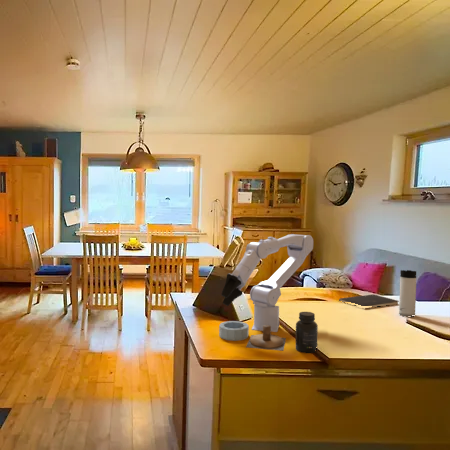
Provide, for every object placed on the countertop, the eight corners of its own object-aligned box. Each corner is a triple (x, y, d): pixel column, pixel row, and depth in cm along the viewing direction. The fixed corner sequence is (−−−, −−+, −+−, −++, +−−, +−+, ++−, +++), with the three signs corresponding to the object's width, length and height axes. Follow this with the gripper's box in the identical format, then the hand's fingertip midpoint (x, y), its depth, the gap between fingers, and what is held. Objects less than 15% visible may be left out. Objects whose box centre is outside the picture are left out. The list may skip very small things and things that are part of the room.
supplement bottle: (292, 346, 123) (293, 310, 122) (313, 346, 123) (314, 310, 123) (298, 354, 116) (299, 316, 115) (320, 354, 116) (321, 316, 116)
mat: (285, 339, 130) (285, 338, 130) (283, 351, 118) (283, 350, 118) (251, 336, 132) (251, 335, 132) (245, 348, 121) (245, 347, 121)
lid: (284, 338, 129) (284, 322, 129) (281, 349, 119) (282, 332, 118) (252, 335, 132) (253, 320, 132) (247, 346, 121) (247, 329, 121)
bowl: (250, 333, 136) (250, 322, 135) (245, 342, 126) (245, 330, 126) (223, 330, 138) (223, 320, 138) (216, 340, 128) (216, 328, 128)
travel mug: (399, 316, 160) (400, 269, 159) (398, 312, 166) (400, 267, 165) (415, 318, 158) (417, 271, 157) (414, 314, 164) (415, 268, 163)
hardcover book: (398, 305, 181) (399, 300, 181) (363, 310, 171) (363, 305, 171) (372, 298, 195) (372, 294, 195) (338, 302, 185) (339, 298, 185)
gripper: (235, 272, 141) (216, 302, 136) (234, 254, 129) (212, 286, 123) (252, 281, 139) (233, 312, 133) (252, 264, 127) (231, 296, 121)
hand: (224, 300), depth 128 cm, fingers open, 7 cm apart
